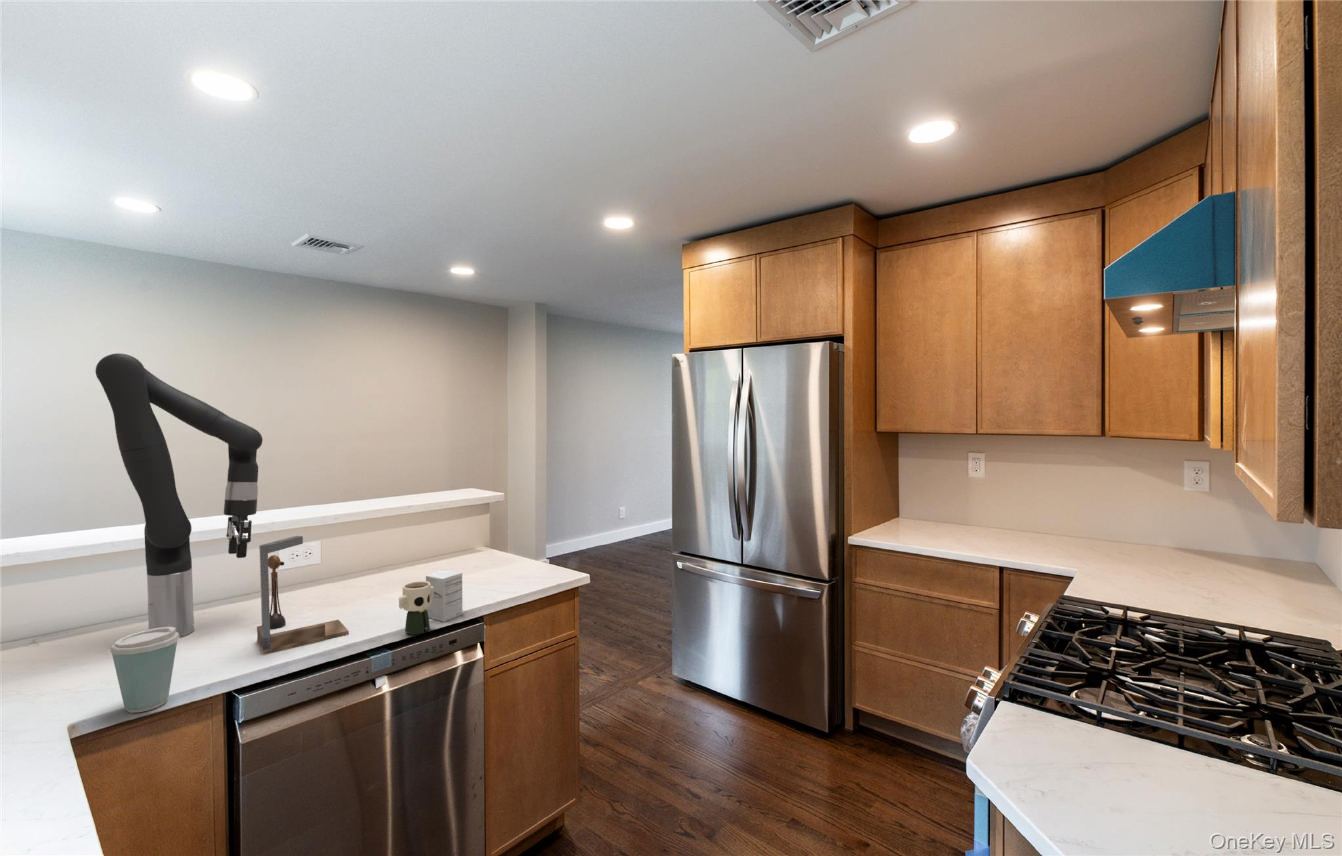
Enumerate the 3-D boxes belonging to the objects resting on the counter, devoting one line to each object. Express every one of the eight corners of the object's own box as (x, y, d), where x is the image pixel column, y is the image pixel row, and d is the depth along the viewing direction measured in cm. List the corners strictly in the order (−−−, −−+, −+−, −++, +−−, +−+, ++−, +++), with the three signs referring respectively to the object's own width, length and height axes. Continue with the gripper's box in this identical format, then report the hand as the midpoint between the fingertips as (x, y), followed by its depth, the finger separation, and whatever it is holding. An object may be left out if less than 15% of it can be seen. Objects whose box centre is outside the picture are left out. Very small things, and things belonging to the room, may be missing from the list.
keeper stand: (263, 654, 147) (260, 546, 145) (257, 640, 155) (254, 538, 154) (348, 634, 159) (346, 535, 158) (338, 622, 167) (336, 528, 166)
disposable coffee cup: (99, 722, 116) (96, 646, 115) (132, 695, 126) (129, 626, 125) (164, 714, 119) (162, 640, 118) (191, 689, 129) (189, 621, 128)
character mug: (409, 641, 155) (408, 592, 154) (391, 636, 158) (390, 588, 157) (443, 627, 164) (442, 581, 164) (425, 623, 167) (424, 577, 167)
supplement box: (425, 618, 171) (424, 575, 171) (445, 610, 178) (445, 568, 177) (443, 622, 168) (442, 578, 167) (463, 614, 174) (463, 572, 174)
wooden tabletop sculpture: (292, 625, 166) (290, 554, 165) (275, 631, 162) (273, 558, 161) (278, 622, 168) (276, 552, 167) (261, 627, 164) (259, 556, 163)
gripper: (218, 496, 170) (214, 553, 169) (231, 499, 160) (227, 560, 159) (250, 496, 175) (245, 551, 174) (264, 499, 166) (260, 557, 165)
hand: (237, 555), depth 167 cm, fingers open, 8 cm apart
